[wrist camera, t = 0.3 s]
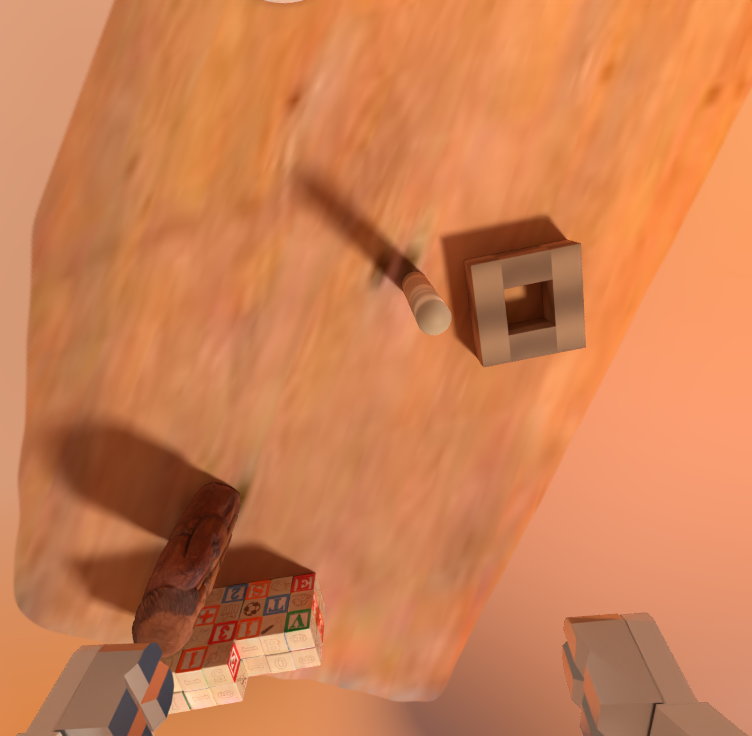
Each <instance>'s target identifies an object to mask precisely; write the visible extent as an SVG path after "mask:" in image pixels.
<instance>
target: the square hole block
mask: <svg viewBox="0 0 752 736" xmlns="http://www.w3.org/2000/svg"><path fill="white" fill-rule="evenodd" d="M464 267H465V275H466V283H467V290H468V298H469V306H470V313H471V321H472V329H473V336H474V344H475V352H476V357H477V359H478V360H479V361H480V363H481V364H482V366H483V367H488V366H493V365H498V364H503V363H509V362H514V361H519V360H524V359H529V358H534V357H539V356H544V355H550V354H555V353H560V352H565V351H570V350H575V349H580V348H585V347H586V342H585V321H584V299H583V278H582V257H581V243H577V242H574V241H570V240H562V241H557V242H552V243H547V244H542V245H537V246H532V247H527V248H522V249H518V250H513V251H508V252H503V253H498V254H493V255H488V256H483V257H478V258H473V259H468V260H464ZM537 282H541V283H542V296H543V309H544V318H539V319H534V320H529V321H524V322H519V323H514V324H509V325H507V316H506V306H505V297H504V289H507V288H512V287H517V286H522V285H527V284H532V283H537Z"/></svg>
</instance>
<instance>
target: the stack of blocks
mask: <svg viewBox="0 0 752 736" xmlns="http://www.w3.org/2000/svg"><path fill="white" fill-rule="evenodd" d="M324 613H325V605H324V602H323V598H322V594H321V591H320V586H319V582H318V579H317V576H316V573H312V574H306V575H300V576H295V577H293V576H290V577H283V578H277V579H272V580H264V581H257V582H251V583H247V584H241V585H234V586H228V587H222V588H216V589H212V591H211V593H210V594H209V595H208V597H207V598H206V599H205V604H204V607H203V608H202V611H201V614H200V619H199V621H198V623H197V625H196V626H195V629H194V631H193V633H192V635H191V637H190V639H189V641H188V642H187V643H186V644H185V645H184V646H183V647H182V648H181V649H180V650H179V651H178V652H176V653H175V654H173V655H170V656H167V657H163V658H160V660H159V661H161V662H162V663H164V664H166V665H167V666H169V667H170V670H171V672H172V674H173V680H174V692H173V699H172V704H171V707H170V710H169V712H168V714H171V713H177V712H183V711H189V710H190V709H199V708H205V707H211V706H216V705H217V704H218V705H221V704H227V703H233V702H239V701H243V696H244V692H245V687H246V683H247V679H248V677H249V676H256V675H262V674H268V673H277V672H283V671H290V670H295V669H300V668H306V667H313V666H319V665H321V654H322V644H323V632H324Z"/></svg>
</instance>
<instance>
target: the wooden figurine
mask: <svg viewBox="0 0 752 736" xmlns="http://www.w3.org/2000/svg"><path fill="white" fill-rule="evenodd" d="M239 508H240V494H239V493H238V492H237V491H236V490H235V489H233V488H230V487H227V486H224V485H219V484H217V483H211V484H208V485H206V486H204V487H202V488H201V490H200V491H199V492H198V493H197V494H196V495H195V496H194V498H193V499H192V501H191V503H190V504H189V506H188V507H187V509H186V511H185V512H184V514H183V515H182V517H181V519H180V520H179V522H178V524H177V526H176V527H175V530H174V532H173V534H172V536H171V537H170V539H169V542H168V543H167V545H166V547H165V549H164V550H163V552H162V554H161V556H160V558H159V560H158V562H157V565H156V567H155V569H154V571H153V573H152V576H151V578H150V580H149V583H148V585H147V588H146V590H145V593H144V596H143V599H142V602H141V604H140V605H139V607H138V609H137V612H136V616H135V620H134V622H133V626H132V634H133V641H134V643H156V642H157V644H158V645H159V647H160V649H161V651H162V655H161V658H163V657H167V656H170V655H173V654H175V653H176V652H178V651H179V650H180V649H181V648H182V647H183V646H184V645H185V644H186V643H187V642H188V641H189V639H190V637H191V635H192V633H193V631H194V629H195V626H196V625H197V623H198V621H199V619H200V614H201V611H202V608H203V607H204V604H205V599H206V598H207V597H208V595H209V594H210V593H211V591H212V589H213V586H214V583H215V580H216V576H217V574H218V572H219V570H220V567H221V565H222V563H223V560H224V557H225V555H226V552H227V549H228V546H229V543H230V540H231V538H232V531H233V529H234V526H235V523H236V521H237V517H238V513H239Z"/></svg>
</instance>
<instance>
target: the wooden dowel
mask: <svg viewBox="0 0 752 736" xmlns="http://www.w3.org/2000/svg"><path fill="white" fill-rule="evenodd" d="M402 289H403V292H404V294H405V296H406V298H407V301H408V303H409V305H410V308H411V310H412V312H413V314H414V317H415V319H416V321H417V324H418V326H419V328H420V329H421V330H422V331H423V332H424V333H426V334H429V335H438V334H441V333H443V332H444V331H445V330H447V328H448V327H449V325H450V323H451V312H450V310H449V308H448V307H447V306H446V304H445V303H444V301H443V300H442V299H441V297H440V296H439V295H438V293H437V292H436V290H435V289H434V288H433V286H432V285H431V284H430V282H429V281H428V279H427V278H426V277H425V275H424V274H422V273H420V272H417V271H414V272H410V273H408V274H407V275H406V276H405V277H404V278H403V280H402Z"/></svg>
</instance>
